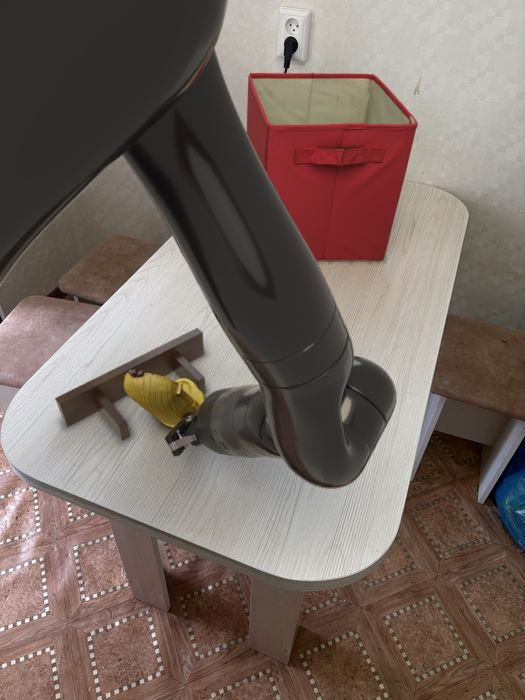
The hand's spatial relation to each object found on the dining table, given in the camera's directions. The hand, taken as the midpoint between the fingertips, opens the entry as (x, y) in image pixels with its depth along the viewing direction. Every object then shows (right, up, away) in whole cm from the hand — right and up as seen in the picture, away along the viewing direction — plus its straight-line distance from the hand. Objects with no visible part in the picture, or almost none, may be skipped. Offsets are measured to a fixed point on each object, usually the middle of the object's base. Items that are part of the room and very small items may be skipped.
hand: (187, 421), depth 69 cm
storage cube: (+21, +37, +46) cm, 63 cm away
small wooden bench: (-7, +2, +8) cm, 10 cm away
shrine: (-3, -1, +5) cm, 6 cm away
